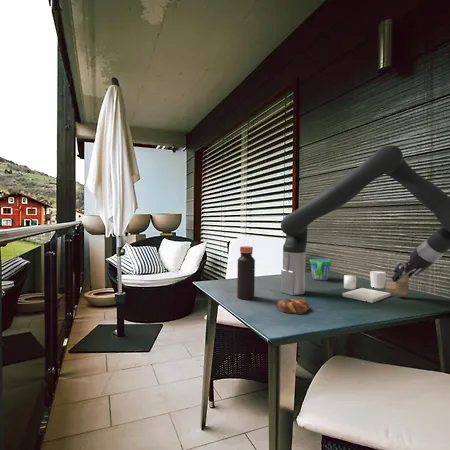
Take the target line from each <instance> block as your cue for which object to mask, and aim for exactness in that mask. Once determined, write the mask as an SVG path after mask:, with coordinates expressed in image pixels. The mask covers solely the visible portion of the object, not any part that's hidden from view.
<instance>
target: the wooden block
mask: <svg viewBox="0 0 450 450" xmlns="http://www.w3.org/2000/svg"><path fill="white" fill-rule="evenodd" d="M384 292H387V293H391V294H395V293H396V282H393V281H392V282H391V281H385V288H384Z"/></svg>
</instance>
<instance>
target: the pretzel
mask: <svg viewBox="0 0 450 450" xmlns="http://www.w3.org/2000/svg"><path fill="white" fill-rule="evenodd" d="M276 308H277V309H278V310H279V311H281V312H282V313H284V314H296V315H302V314H305V313H306V312H307V311H308V310H310V303H309V302H308V301H307V300H306V299H305V298H303V297H302V298H301V297H299V298H297V299H296V298H282V299H280V300H278V301H277V303H276Z"/></svg>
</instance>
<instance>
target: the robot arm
mask: <svg viewBox="0 0 450 450" xmlns="http://www.w3.org/2000/svg"><path fill="white" fill-rule="evenodd" d="M384 175H386V176H388V177H390V178H391V179H393V180H394V181H396V182H397V183H398V184H400V185H401V186H402V187H403V188H405V190H407V191H408V192H409V193H410V194H411V195H412V196H413V197H414V198H415V199H416V200H417V201H419V203H421V204H422V205H423V206H424V207H425V208H427V209H428V210H429V211H430V212H431V213H432V214H434V216H435V217H436V219H437V220H438V222H439V223H440V224H441V225H442V226H441V227H440V228H438V229H437V230H436V231H435V232H434V233H432V234H431V235H430V236H429V237H428V238H427V239H426V240H424V241H422V243H420V245H418V246H417V247H416V248H415V249H414V250H413V251H412V252H411V253H409V260H407V261H405V262H406V263H405V264H403V265H402V263H399V264H398V265H397V264H396V267H395V268H394V270H393V273H394V275H392V277H391V280H392V282H395V283H396V282H397V281H398V280H399V279H400V278H401V277H402V276H404V275H408V274H409V279H410V278H412V277H414V276H415V277H416V276H418V275H419V274H421V273H422V272H424V271H425V270H428V269H429V268H430V267H431V266H433V265H434V264H435V263H436V262H438V261H439V260H440V259H441V258H442V257H443V256H444V254H445V253H446V252H448V251H449V250H450V195H448V194H447V193H446V192H444V191H443V190H442V189H440V187H438V186H437V185H436V184H434V183H433V182H431V181H430V180H428V179H426V178H425V177H423V176H422V175H421V174H419V173H418V172H416V170H414V169H413V167H411V166H410V165H409V164H408V163H407V162H406V161H405V159H404V155H403V152H402V150H401V149H400V147H398V146H396V145H389V144H388V145H385V146H382V147H379V149H377V150H376V151H375V152H374V153H373V154H372V155H371V156H369V157H368V158H367V159H366V160H365V161H364V162H362V163H361V164H360V165H358V166H357V167H356V168H355V169H353V170H351V171H349V172H348V173H346V174H345V175H343V176H342V177H340V178H339V179H336V180H335V181H334V182H333V183H331V184H329V186H327V187H326V188H324V189H323V190H322V191H320V192H319V193H318V194H317V195H315V196H314V197H312V199H310V200H309V201H308V202H307V203H306V204H304V205H302V206H301V207H299V208H297V209H296V210H294V211H292V212H290V213H288V214H287V215H285V216H284V217H283V218H282V220H281V222H280V228H281V231H282V233H284V234H285V241H284V244H283V246H282V269H281V271H280V272H281V273H280V293H283V294H286V295H287V294H288V295H291V296H294V295H295V296H296V295H297V296H298V295H303V294H306V293H305V292H306V291H305V289H306V248H307V244H308V226H309V225H310V224H312V223H313V222H314V221H315V220H318V219H319V218H321V217H324V216H326V215H328V214H330V213H332V212H333V211H336V210H338V209H339V208H341V207H342V206H344V205H345V204H347V203H348V202H350V201H351V200H352V199H354V198H355V197H356V196H357V195H358V194H360V192H361V191H363V190H364V189H365V188H366V187H367V186H368V185H369V184H370V183H372V182H374V181H375V180H377V179H379V178H380V177H381V176H384ZM405 269H406V271H407V272H406V271H405ZM402 272H403V273H402Z"/></svg>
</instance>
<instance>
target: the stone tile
mask: <svg viewBox="0 0 450 450" xmlns="http://www.w3.org/2000/svg"><path fill="white" fill-rule="evenodd" d="M391 294H392V293H388V292H385V291H380V290H374V289H371V288H364V287H360V288H356V289H351V290H349V291H346V292H342V294H341V295H342V296H341V297H344V298H349V299H354V300H358V301H364V302H366V301H367V302H368V303H371V304H372V303H375V302H378V301H380V300H381V301H382V300H384V299H387V298H388V297H389V298H390V297H391Z"/></svg>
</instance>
